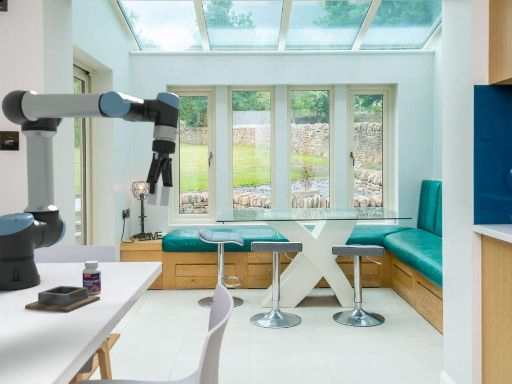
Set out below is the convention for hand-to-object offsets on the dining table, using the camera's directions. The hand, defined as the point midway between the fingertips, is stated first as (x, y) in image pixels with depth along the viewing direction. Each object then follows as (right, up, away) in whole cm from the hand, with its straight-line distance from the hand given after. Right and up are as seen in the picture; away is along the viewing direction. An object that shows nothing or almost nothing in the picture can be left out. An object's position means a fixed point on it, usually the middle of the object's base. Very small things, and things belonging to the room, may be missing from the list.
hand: (158, 205), depth 162 cm
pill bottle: (-19, -27, -9) cm, 34 cm away
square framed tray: (-23, -27, -21) cm, 41 cm away
